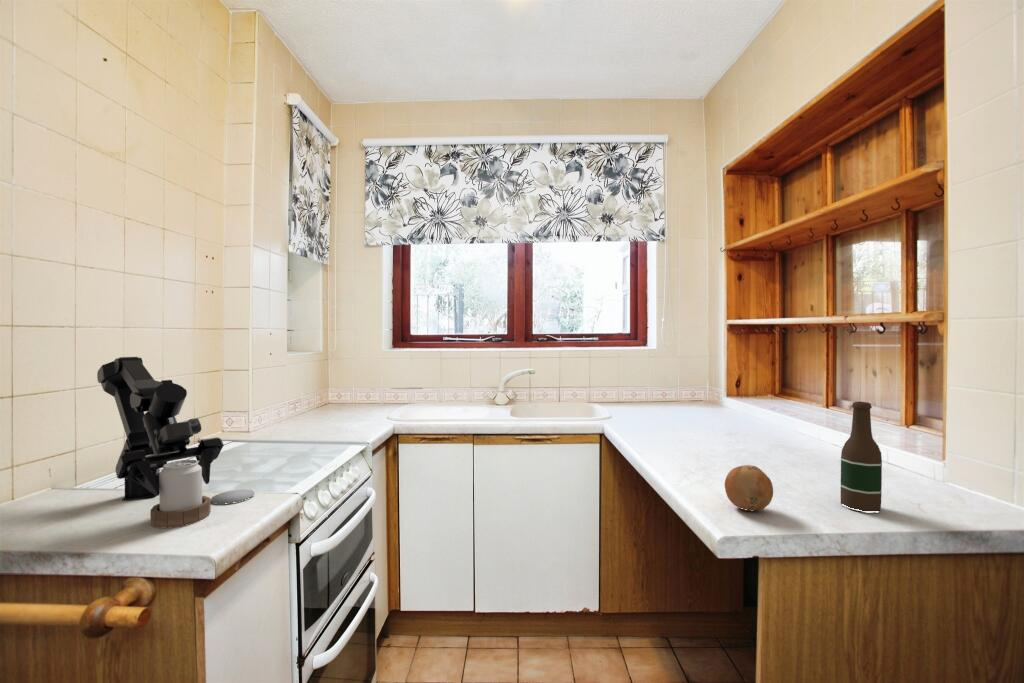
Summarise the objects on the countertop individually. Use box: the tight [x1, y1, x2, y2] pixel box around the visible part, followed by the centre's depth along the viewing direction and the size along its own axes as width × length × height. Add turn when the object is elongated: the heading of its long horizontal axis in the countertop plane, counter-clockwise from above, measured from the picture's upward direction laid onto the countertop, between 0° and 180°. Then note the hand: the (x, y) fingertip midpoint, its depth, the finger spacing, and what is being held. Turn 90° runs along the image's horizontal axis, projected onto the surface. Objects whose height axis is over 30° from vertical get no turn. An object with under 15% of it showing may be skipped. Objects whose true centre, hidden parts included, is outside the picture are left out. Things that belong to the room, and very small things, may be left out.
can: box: [158, 459, 203, 512], centre depth 99 cm, size 8×8×12 cm
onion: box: [724, 464, 774, 511], centre depth 104 cm, size 10×10×10 cm
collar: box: [150, 495, 212, 529], centre depth 99 cm, size 10×10×3 cm
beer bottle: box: [840, 401, 883, 512], centre depth 104 cm, size 8×8×24 cm
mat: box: [210, 489, 255, 505], centre depth 112 cm, size 9×9×1 cm
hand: (183, 488), depth 98 cm, fingers open, 9 cm apart
